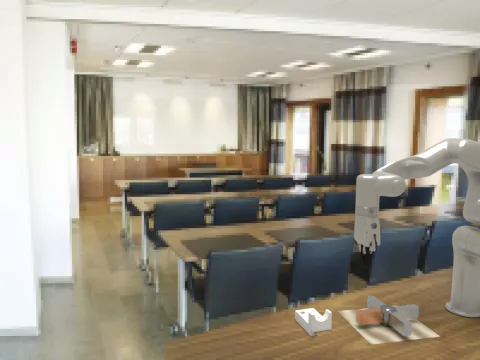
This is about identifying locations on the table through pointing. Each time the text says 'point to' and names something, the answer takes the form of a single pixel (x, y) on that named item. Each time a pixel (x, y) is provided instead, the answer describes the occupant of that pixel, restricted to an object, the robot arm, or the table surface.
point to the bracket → (313, 320)
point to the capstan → (388, 315)
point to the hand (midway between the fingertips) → (365, 264)
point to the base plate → (387, 330)
